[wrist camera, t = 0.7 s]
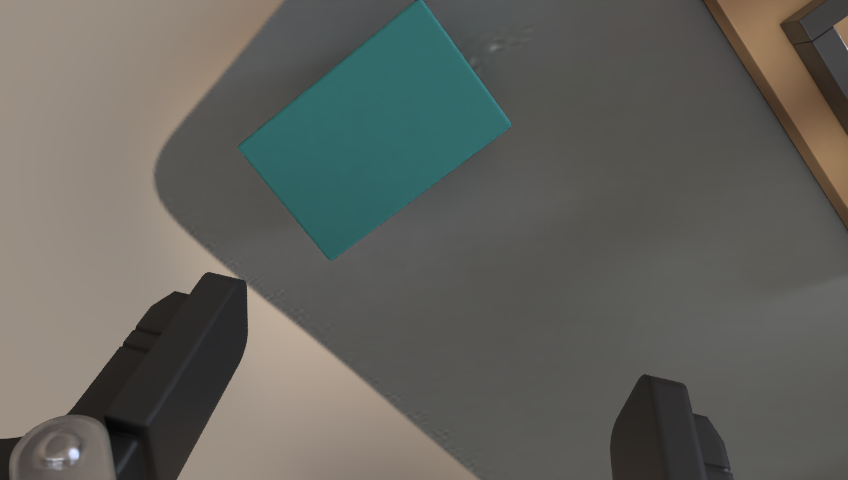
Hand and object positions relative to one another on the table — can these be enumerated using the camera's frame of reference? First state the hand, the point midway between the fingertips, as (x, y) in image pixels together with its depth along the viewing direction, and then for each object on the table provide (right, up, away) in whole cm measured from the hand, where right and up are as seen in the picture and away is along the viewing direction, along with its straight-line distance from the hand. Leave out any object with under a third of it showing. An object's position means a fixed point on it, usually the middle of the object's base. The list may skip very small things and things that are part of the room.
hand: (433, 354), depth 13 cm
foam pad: (-1, +8, +16) cm, 18 cm away
